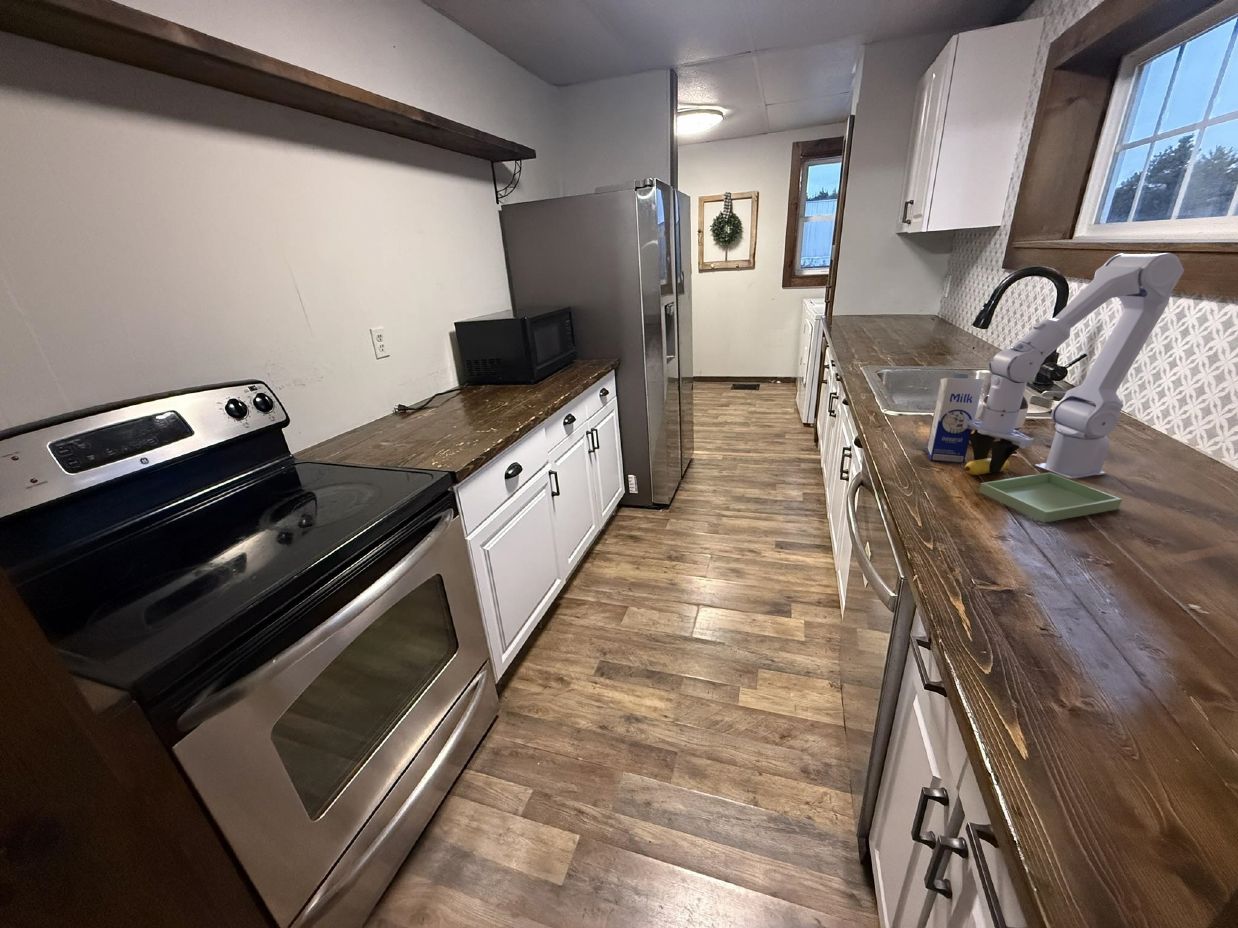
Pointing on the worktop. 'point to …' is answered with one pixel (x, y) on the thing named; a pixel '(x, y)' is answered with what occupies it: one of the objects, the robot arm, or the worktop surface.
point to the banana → (981, 466)
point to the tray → (1049, 496)
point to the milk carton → (953, 418)
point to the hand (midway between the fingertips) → (986, 468)
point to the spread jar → (1020, 417)
